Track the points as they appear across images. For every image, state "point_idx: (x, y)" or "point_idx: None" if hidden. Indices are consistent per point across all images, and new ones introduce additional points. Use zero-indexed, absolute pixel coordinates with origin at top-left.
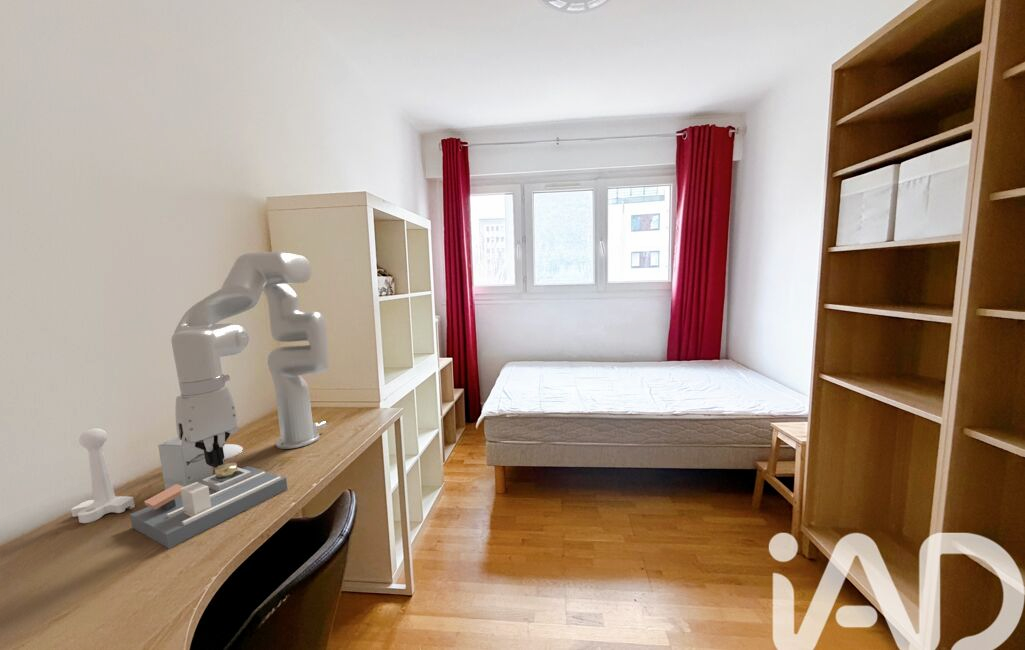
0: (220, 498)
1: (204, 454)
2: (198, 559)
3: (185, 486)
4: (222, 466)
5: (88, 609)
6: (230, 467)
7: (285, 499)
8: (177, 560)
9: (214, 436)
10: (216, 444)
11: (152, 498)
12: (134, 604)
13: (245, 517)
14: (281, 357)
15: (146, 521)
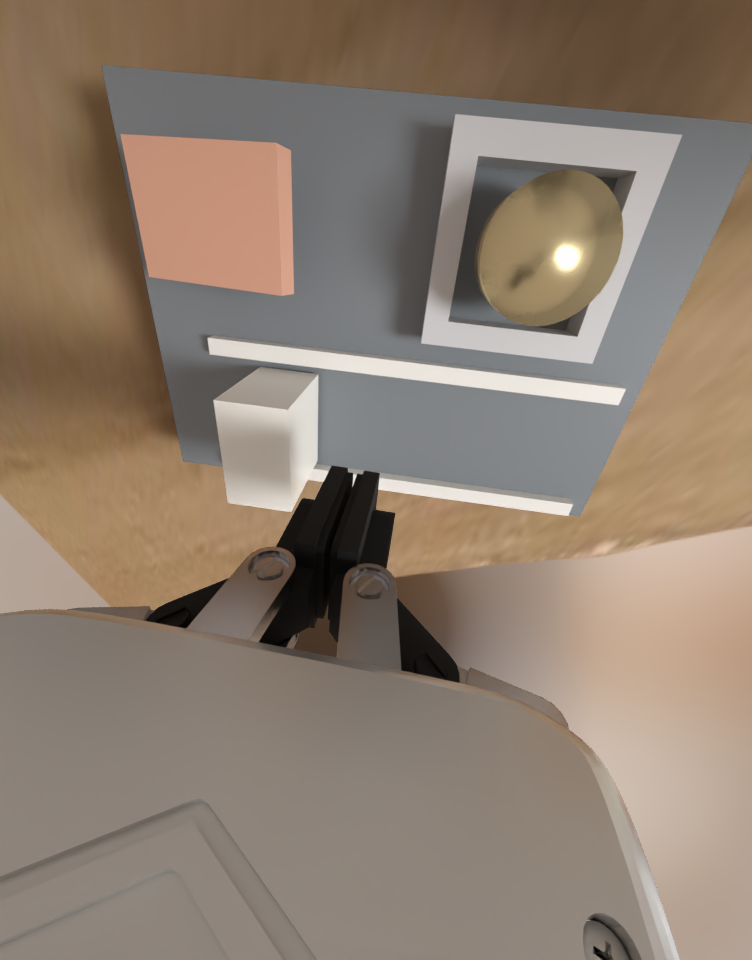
0: (380, 409)
1: (282, 535)
2: (235, 545)
3: (235, 404)
4: (551, 216)
5: (60, 491)
6: (540, 308)
7: (497, 531)
8: (206, 507)
9: (345, 657)
10: (335, 634)
11: (153, 168)
12: (125, 553)
13: (384, 501)
14: None
15: (152, 281)
